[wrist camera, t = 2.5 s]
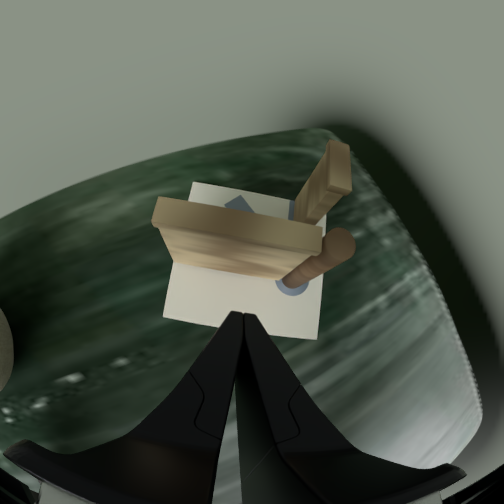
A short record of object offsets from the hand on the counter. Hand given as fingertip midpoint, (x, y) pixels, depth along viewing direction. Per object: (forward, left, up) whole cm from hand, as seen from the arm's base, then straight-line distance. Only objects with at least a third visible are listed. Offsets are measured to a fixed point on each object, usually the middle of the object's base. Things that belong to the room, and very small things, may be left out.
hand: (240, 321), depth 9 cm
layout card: (+2, -6, -12) cm, 14 cm away
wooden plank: (0, -9, -12) cm, 15 cm away
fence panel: (+3, -4, -12) cm, 13 cm away
